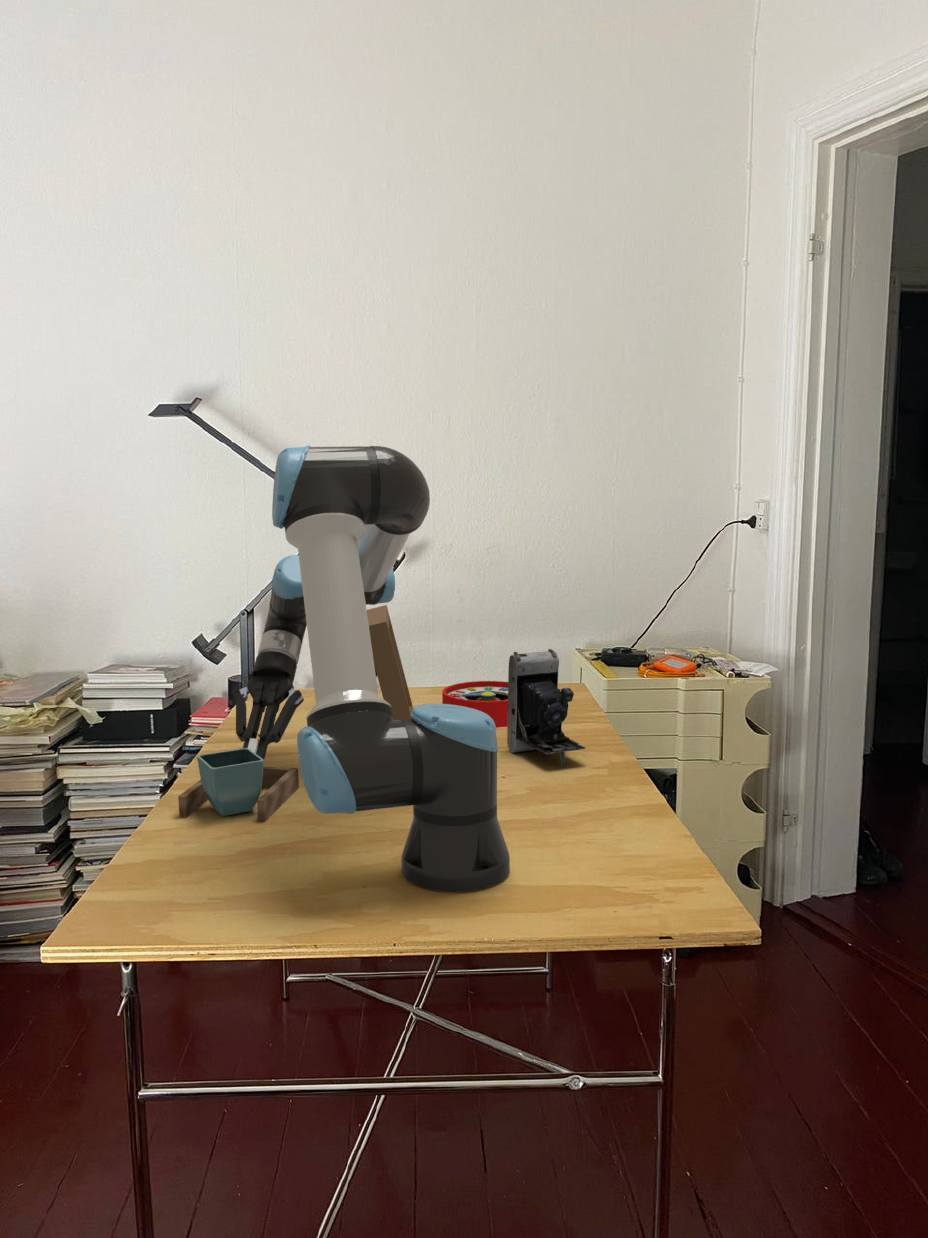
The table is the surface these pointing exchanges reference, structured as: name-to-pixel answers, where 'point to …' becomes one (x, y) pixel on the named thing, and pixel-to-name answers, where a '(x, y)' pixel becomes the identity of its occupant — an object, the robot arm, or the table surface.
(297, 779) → the wooden tray rim
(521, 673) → the vintage camera
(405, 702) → the photo frame
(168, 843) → the table surface
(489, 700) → the toy clock
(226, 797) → the flower pot
